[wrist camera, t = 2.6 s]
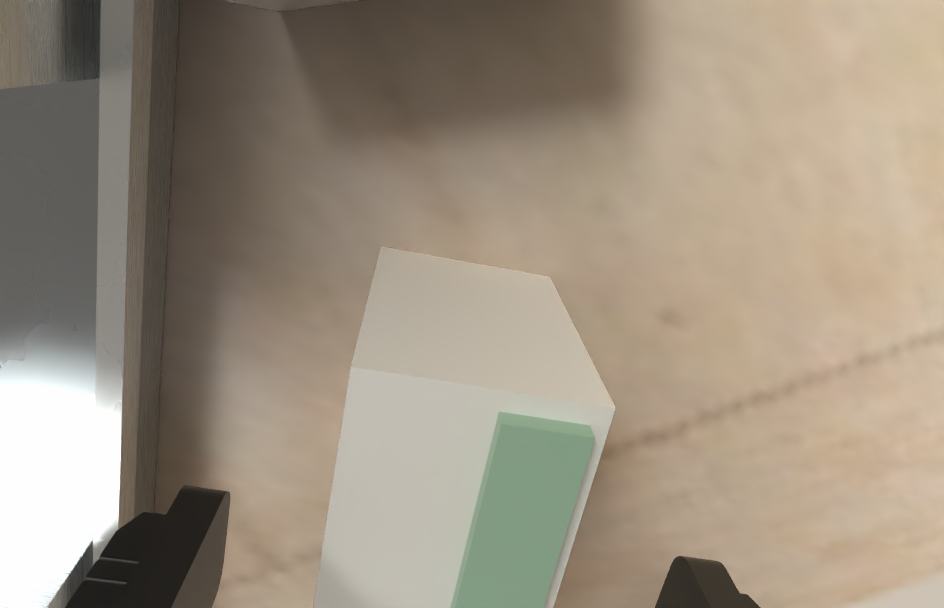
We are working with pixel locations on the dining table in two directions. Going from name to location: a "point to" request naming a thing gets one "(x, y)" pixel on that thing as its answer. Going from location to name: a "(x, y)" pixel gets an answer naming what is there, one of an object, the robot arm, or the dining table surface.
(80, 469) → the rail board
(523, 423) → the block
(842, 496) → the dining table surface
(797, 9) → the dining table surface
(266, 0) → the block
